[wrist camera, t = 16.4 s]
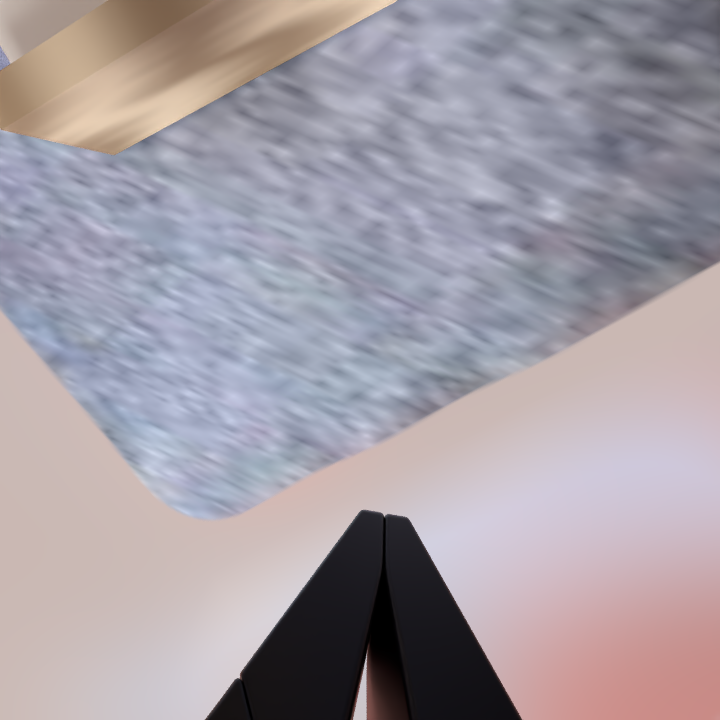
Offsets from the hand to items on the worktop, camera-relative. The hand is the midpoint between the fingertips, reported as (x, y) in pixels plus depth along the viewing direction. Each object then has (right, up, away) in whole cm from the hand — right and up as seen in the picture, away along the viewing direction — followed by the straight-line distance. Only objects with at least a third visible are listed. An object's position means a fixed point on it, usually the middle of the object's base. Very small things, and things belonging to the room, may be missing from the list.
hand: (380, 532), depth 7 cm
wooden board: (-5, +14, +8) cm, 17 cm away
